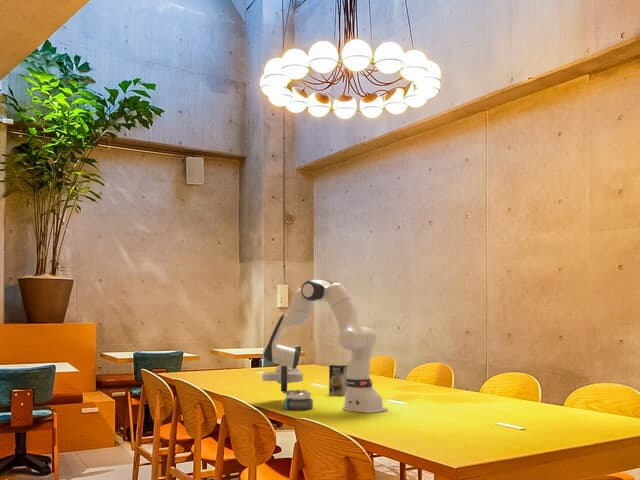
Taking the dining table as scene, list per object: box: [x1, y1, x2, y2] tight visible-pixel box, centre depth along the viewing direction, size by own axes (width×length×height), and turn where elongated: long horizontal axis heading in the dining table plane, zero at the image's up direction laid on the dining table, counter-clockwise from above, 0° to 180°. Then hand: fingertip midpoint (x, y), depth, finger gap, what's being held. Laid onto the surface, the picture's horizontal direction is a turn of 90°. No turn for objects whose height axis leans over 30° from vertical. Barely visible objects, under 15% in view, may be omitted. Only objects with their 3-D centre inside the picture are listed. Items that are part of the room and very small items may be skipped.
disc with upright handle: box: [280, 366, 312, 401], centre depth 324 cm, size 14×12×16 cm
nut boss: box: [283, 398, 314, 411], centre depth 323 cm, size 14×15×5 cm
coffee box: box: [328, 364, 347, 397], centre depth 370 cm, size 9×6×16 cm
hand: (282, 378), depth 325 cm, fingers closed, pressing on disc with upright handle
